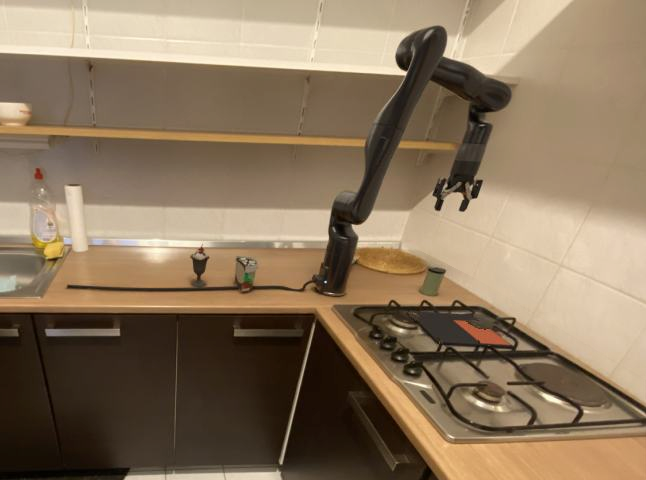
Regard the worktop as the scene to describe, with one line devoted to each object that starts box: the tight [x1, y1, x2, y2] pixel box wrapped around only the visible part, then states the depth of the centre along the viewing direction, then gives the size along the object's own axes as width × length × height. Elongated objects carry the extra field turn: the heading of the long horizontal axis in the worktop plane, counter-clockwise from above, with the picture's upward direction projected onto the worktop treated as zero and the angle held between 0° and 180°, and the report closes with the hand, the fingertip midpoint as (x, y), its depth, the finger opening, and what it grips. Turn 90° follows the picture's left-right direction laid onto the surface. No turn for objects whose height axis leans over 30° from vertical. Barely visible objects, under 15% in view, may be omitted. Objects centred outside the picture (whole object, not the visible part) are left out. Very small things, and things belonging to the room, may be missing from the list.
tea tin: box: [419, 266, 447, 297], centre depth 136 cm, size 5×5×9 cm
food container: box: [233, 255, 259, 294], centre depth 133 cm, size 12×6×10 cm, turn 9°
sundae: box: [189, 243, 211, 287], centre depth 133 cm, size 7×7×15 cm
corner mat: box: [411, 310, 515, 350], centre depth 113 cm, size 20×20×1 cm
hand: (449, 211), depth 132 cm, fingers open, 8 cm apart
